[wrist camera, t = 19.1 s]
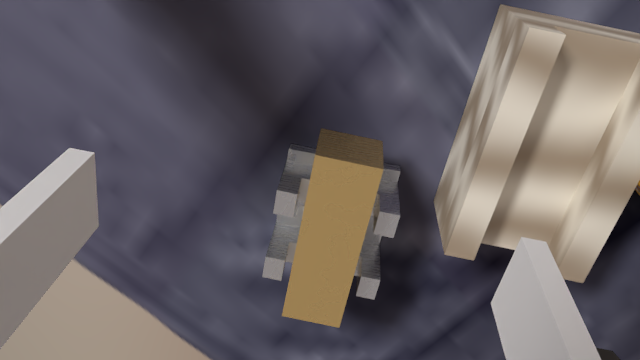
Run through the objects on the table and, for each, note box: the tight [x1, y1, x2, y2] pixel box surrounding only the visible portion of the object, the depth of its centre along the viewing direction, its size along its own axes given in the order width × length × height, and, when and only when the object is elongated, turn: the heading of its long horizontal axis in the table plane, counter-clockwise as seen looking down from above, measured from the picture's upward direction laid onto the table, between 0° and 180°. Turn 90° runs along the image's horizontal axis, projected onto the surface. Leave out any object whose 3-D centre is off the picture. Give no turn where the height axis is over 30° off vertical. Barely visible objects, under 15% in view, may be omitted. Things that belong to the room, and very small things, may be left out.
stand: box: [262, 144, 401, 300], centre depth 42 cm, size 10×9×6 cm
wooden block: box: [282, 128, 384, 328], centre depth 39 cm, size 14×4×4 cm, turn 169°
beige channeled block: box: [434, 4, 640, 283], centre depth 36 cm, size 16×10×8 cm, turn 169°
